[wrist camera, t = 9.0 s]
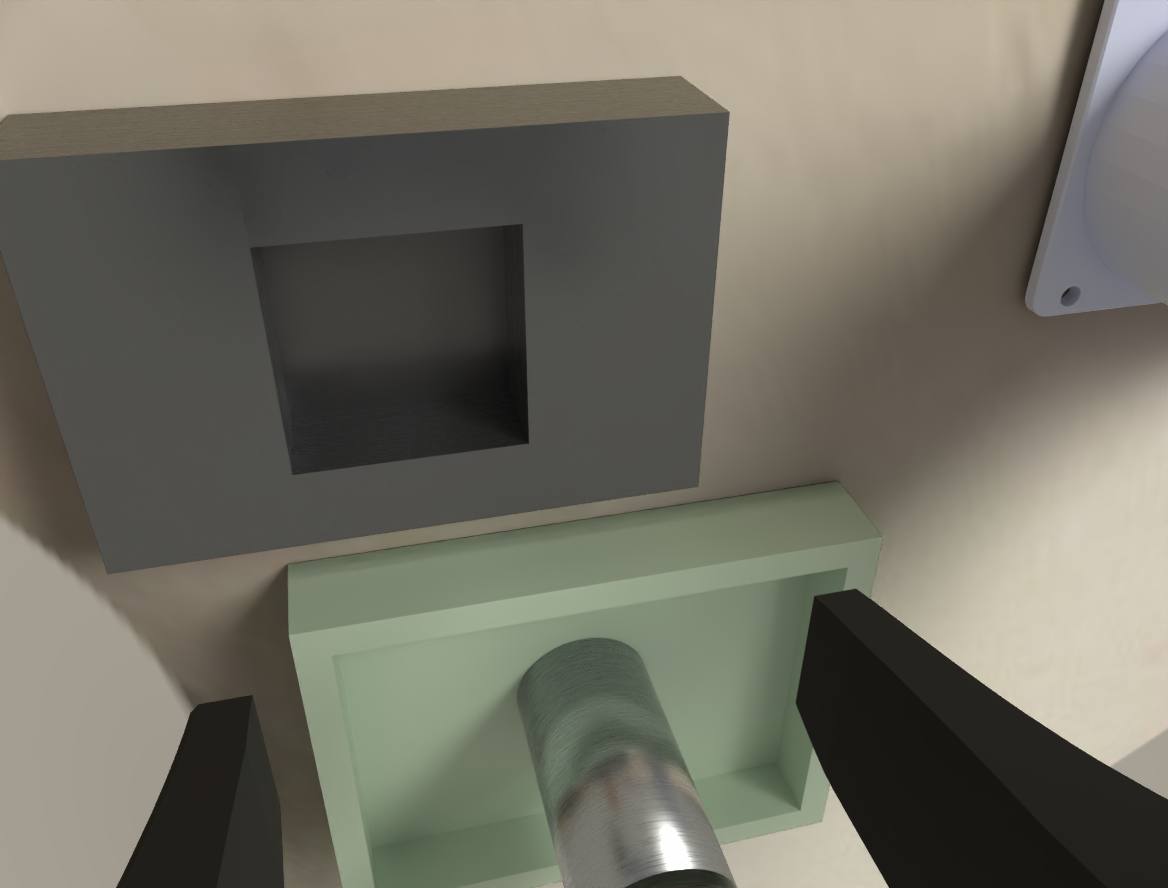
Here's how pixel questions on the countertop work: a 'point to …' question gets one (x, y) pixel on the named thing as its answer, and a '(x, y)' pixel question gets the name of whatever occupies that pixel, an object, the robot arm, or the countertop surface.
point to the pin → (614, 774)
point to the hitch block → (367, 306)
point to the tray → (538, 625)
